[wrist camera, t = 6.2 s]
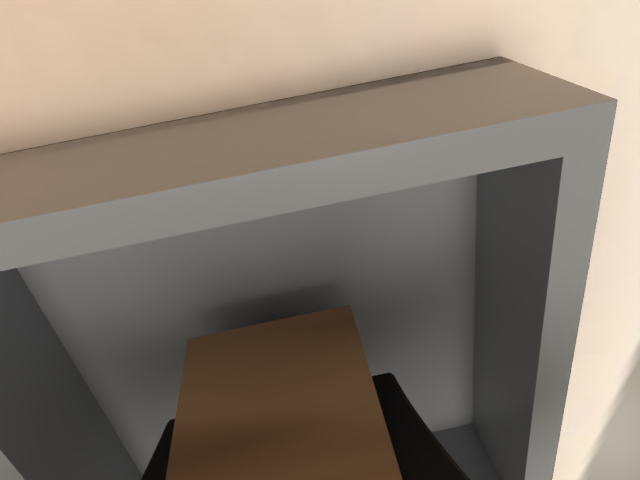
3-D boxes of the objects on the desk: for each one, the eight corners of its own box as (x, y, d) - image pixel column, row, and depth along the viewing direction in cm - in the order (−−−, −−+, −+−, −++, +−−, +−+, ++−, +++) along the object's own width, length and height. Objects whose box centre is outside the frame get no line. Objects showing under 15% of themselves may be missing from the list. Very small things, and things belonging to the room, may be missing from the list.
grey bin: (486, 418, 18) (543, 528, 14) (141, 495, 17) (115, 626, 14) (501, 56, 11) (617, 99, 7) (-65, 167, 10) (-216, 266, 7)
